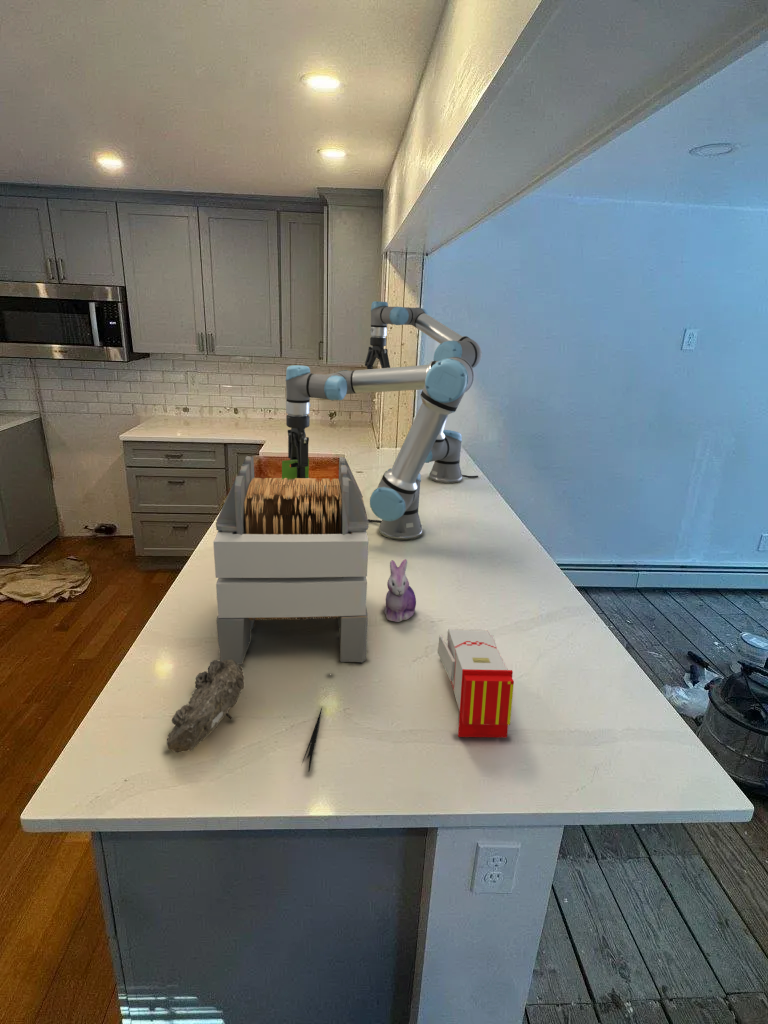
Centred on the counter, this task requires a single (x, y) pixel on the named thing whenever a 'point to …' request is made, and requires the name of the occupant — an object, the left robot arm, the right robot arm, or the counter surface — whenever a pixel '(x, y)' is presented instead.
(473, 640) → the toy
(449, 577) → the counter surface
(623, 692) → the counter surface
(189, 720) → the fossil
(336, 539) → the grey boxy piece
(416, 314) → the right robot arm
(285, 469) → the ink box
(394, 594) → the figurine
